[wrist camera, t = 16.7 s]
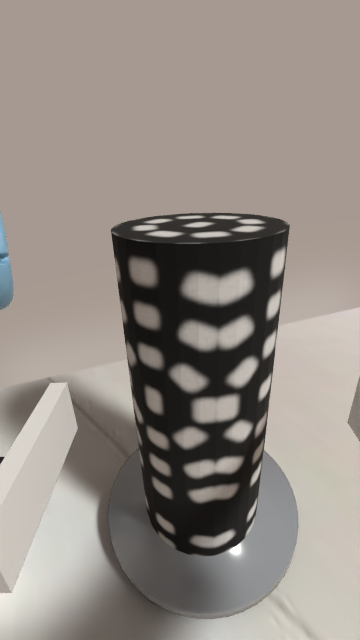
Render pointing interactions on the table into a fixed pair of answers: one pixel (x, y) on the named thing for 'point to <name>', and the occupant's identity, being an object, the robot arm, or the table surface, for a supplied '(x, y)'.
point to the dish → (207, 571)
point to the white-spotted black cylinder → (201, 366)
